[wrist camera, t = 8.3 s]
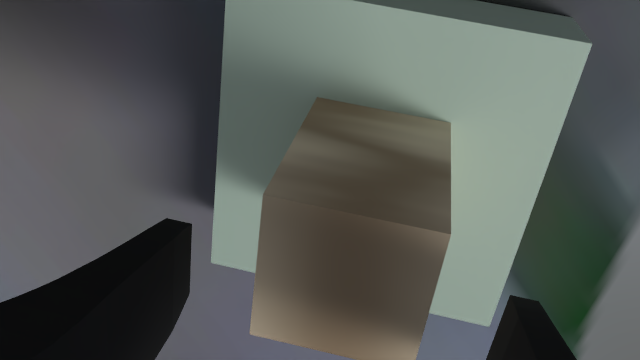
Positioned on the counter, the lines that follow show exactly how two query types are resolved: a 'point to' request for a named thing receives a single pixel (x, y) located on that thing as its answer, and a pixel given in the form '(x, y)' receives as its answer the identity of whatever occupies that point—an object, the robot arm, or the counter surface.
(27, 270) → the counter surface
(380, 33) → the sage base block
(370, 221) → the beech block
